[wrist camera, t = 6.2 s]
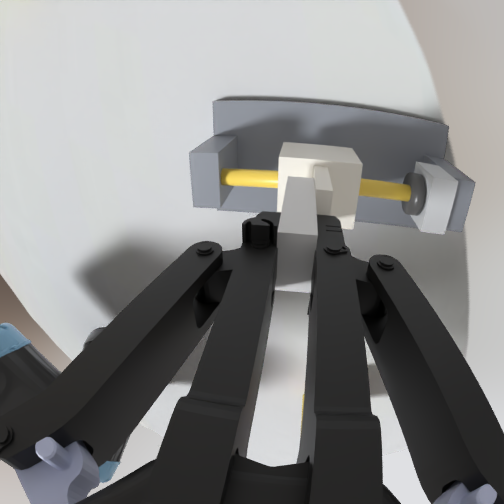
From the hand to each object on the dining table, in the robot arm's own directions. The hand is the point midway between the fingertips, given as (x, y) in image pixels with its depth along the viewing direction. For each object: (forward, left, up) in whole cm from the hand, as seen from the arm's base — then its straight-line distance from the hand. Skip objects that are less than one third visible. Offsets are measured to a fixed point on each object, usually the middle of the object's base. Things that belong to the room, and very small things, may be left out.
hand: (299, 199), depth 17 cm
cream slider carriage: (+1, 0, -6) cm, 6 cm away
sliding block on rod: (+3, +1, -10) cm, 10 cm away
